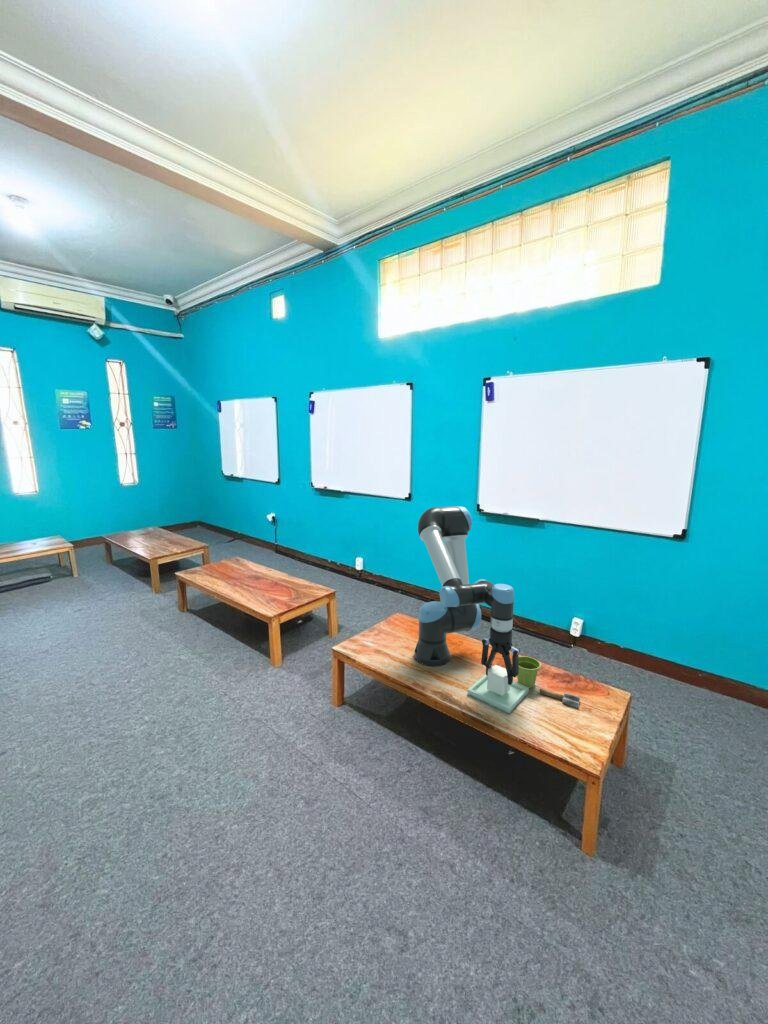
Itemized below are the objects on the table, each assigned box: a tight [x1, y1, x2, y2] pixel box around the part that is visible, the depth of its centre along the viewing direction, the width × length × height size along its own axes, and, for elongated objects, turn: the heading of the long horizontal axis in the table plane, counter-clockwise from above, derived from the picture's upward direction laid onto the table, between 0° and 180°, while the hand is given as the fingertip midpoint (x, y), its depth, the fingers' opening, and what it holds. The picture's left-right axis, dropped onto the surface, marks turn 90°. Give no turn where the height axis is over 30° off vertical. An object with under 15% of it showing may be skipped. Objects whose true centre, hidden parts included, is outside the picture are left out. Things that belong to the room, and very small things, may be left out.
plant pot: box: [516, 655, 542, 689], centre depth 151 cm, size 9×9×9 cm
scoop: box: [538, 688, 580, 709], centre depth 143 cm, size 13×4×2 cm, turn 58°
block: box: [487, 664, 507, 696], centre depth 145 cm, size 6×6×7 cm
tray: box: [467, 673, 530, 715], centre depth 146 cm, size 16×16×2 cm
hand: (498, 687), depth 145 cm, fingers closed on block, 6 cm apart
